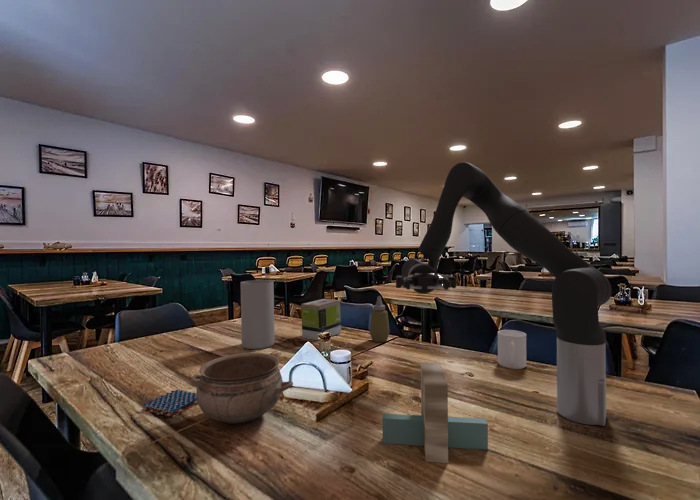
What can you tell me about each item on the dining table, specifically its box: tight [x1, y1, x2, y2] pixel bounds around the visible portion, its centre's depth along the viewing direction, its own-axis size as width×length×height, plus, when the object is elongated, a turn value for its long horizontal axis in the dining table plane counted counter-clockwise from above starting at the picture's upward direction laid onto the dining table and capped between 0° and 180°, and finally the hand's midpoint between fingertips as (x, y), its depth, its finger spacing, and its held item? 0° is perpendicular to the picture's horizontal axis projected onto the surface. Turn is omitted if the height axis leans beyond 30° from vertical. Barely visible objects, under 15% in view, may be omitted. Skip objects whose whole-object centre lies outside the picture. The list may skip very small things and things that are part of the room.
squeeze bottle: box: [369, 295, 390, 343], centre depth 142 cm, size 8×8×18 cm
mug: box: [497, 329, 527, 370], centre depth 111 cm, size 12×8×10 cm
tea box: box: [300, 298, 342, 341], centre depth 152 cm, size 15×10×15 cm, turn 144°
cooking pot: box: [190, 352, 294, 426], centre depth 81 cm, size 25×19×12 cm
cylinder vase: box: [240, 279, 276, 350], centre depth 139 cm, size 12×12×25 cm
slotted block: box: [420, 362, 449, 464], centre depth 70 cm, size 12×4×14 cm, turn 172°
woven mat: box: [142, 389, 198, 418], centre depth 88 cm, size 10×11×2 cm
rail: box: [381, 413, 489, 451], centre depth 70 cm, size 20×2×5 cm, turn 82°
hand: (427, 285), depth 80 cm, fingers open, 8 cm apart
